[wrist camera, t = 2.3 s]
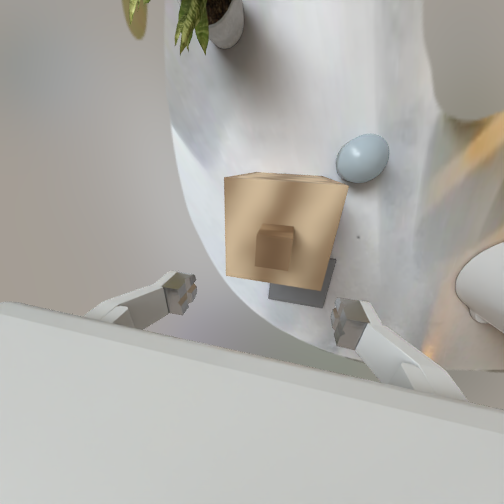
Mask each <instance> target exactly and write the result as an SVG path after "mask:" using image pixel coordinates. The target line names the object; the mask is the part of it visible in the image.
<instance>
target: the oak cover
mask: <svg viewBox="0 0 504 504" xmlns="http://www.w3.org/2000/svg"><path fill="white" fill-rule="evenodd" d="M348 188H349V186H348V185H345V184H343V183H340V182H337V181H334V180H332V179H329V178H326V177H323V176H311V175H294V174H277V173H261V172H254V173H248V174H242V175H236V176H230V177H224V195H225V246H226V276H231V277H237V278H243V279H250V280H256V281H262V282H268V283H274V284H280V285H287V286H293V287H299V288H305V289H311V290H317V291H321V288H322V285H323V281H324V277H325V274H326V270H327V266H328V262H329V259H330V255H331V251H332V247H333V244H334V240H335V236H336V233H337V229H338V225H339V221H340V218H341V214H342V210H343V206H344V203H345V199H346V195H347V191H348Z"/></svg>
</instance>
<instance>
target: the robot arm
mask: <svg viewBox="0 0 504 504" xmlns="http://www.w3.org/2000/svg"><path fill="white" fill-rule="evenodd" d="M195 281H196V278H195V275H193V274H188V273H182V272H177V271H169V272H168V273H166V274H165V275H164V276H163V277H162V278H161V279H159V280H158V281H157V282H156V283H155V284H153V285H149V286H146V287H143V288H140V289H138V290H135V291H132V292H129V293H126V294H123V295H120V296H117V297H114V298H112V299H109V300H106V301H103V302H102V303H100V304H99V305H98V306H96V307H95V308H93V309H92V310H91V311H89V312H88V313H87V314H85V315H84V316H77V315H73V314H68V313H63V312H59V311H55V310H50V309H46V308H41V307H36V306H32V305H28V304H24V303H19V302H2V303H0V504H504V410H503V409H498V408H494V407H489V406H485V405H480V404H476V403H471V402H469V401H468V400H467V399H466V397H465V396H464V394H463V393H462V392H461V391H460V389H459V388H458V386H457V385H456V384H455V383H454V381H453V380H452V378H451V377H450V376H449V374H448V373H447V372H446V370H444V369H443V368H442V367H440V366H439V365H438V364H436V363H435V362H434V361H432V360H431V359H430V358H428V357H427V356H426V355H424V354H423V353H422V352H420V351H419V350H418V349H416V348H415V347H414V346H412V345H411V344H410V343H408V342H407V341H406V340H404V339H403V338H402V337H400V336H399V335H398V334H396V333H395V332H394V331H392V330H391V329H390V328H388V327H387V326H383V324H382V322H381V321H380V319H379V317H378V315H377V314H376V312H375V310H374V308H373V307H372V305H371V303H370V302H368V301H361V300H351V299H345V298H338V297H337V299H336V301H335V306H336V308H334V309H333V310H332V314H331V324H332V328H333V329H334V330H335V333H334V337H335V341H336V345H337V346H339V347H344V348H348V349H353V350H355V352H356V353H357V354H358V355H359V356H360V358H361V359H362V360H363V361H364V362H365V364H366V365H367V366H368V367H369V368H370V370H371V371H372V372H373V373H374V375H375V376H376V377H377V378H378V379H379V381H380V382H376V381H372V380H367V379H362V378H358V377H354V376H349V375H345V374H340V373H335V372H331V371H326V370H322V369H317V368H313V367H308V366H303V365H299V364H295V363H290V362H285V361H281V360H276V359H272V358H268V357H263V356H258V355H254V354H250V353H245V352H241V351H236V350H232V349H227V348H222V347H218V346H213V345H209V344H204V343H199V342H195V341H190V340H186V339H181V338H177V337H172V336H168V335H163V334H159V333H154V332H150V331H145V330H143V329H145V328H146V327H148V326H150V325H151V324H153V323H155V322H156V321H158V320H159V319H161V318H163V317H164V316H166V315H168V314H169V313H172V314H178V315H183V314H184V313H185V311H186V310H187V309H188V307H189V306H188V304H189V303H191V302H193V300H194V299H195V297H196V294H197V287H196V285H195V284H194V282H195ZM456 293H457V295H458V297H459V298H460V300H461V301H462V302H463V303H465V304H466V305H467V306H468V307H469V309H470V314H471V316H472V318H473V319H475V320H476V321H478V322H479V323H490V324H491V325H492V326H494V327H495V328H497V329H498V330H500V331H501V332H502V333H504V242H503V243H500V244H497V245H495V246H493V247H491V248H489V249H487V250H485V251H483V252H481V253H480V254H478V255H477V256H475V257H474V258H473V259H472V260H471V261H469V262H468V263H467V264H466V265H465V267H464V268H463V269H462V270H461V272H460V274H459V275H458V278H457V281H456Z"/></svg>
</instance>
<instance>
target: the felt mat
mask: <svg viewBox="0 0 504 504" xmlns="http://www.w3.org/2000/svg"><path fill="white" fill-rule="evenodd" d="M335 263H336V259H329V262H328V266H327V270H326V274H325V277H324V281H323V285H322V288H321V291H317V290H311V289H305V288H299V287H293V286H287V285H280V284H274V283H270V288H269V297H268V299H273V300H279V301H284V302H290V303H295V304H301V305H307V306H312V307H318V308H323V305H324V301H325V298H326V294H327V291H328V288H329V284H330V281H331V277H332V274H333V270H334V267H335Z"/></svg>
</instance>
